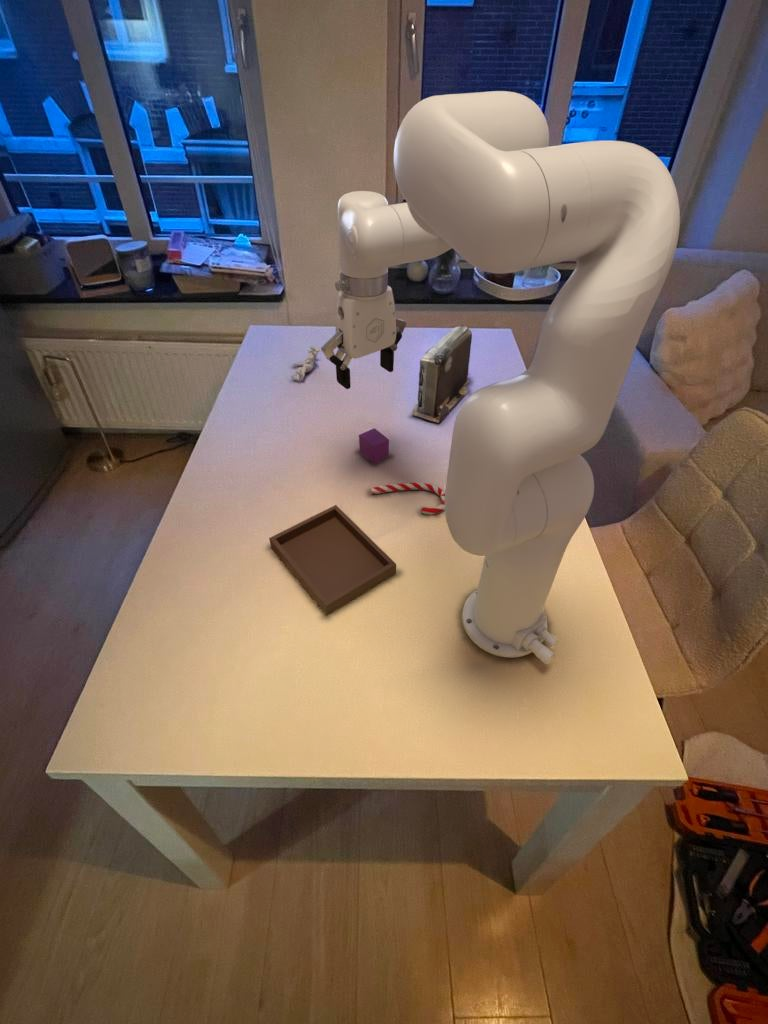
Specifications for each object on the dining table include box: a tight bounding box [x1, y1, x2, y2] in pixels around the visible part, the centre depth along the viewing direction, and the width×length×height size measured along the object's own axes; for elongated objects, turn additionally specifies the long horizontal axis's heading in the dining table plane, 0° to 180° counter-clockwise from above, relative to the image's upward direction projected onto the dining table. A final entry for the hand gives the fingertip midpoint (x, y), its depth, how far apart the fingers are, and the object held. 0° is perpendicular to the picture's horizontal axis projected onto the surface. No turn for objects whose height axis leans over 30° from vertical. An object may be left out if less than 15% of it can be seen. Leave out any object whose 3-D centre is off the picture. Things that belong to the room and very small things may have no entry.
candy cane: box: [369, 482, 445, 515], centre depth 99 cm, size 8×1×15 cm
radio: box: [411, 324, 473, 423], centre depth 120 cm, size 23×9×15 cm, turn 146°
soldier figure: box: [290, 345, 322, 382], centre depth 133 cm, size 8×5×12 cm
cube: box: [358, 427, 390, 465], centre depth 108 cm, size 5×4×4 cm
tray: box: [268, 504, 397, 616], centre depth 88 cm, size 18×14×2 cm
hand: (365, 377), depth 96 cm, fingers open, 9 cm apart
